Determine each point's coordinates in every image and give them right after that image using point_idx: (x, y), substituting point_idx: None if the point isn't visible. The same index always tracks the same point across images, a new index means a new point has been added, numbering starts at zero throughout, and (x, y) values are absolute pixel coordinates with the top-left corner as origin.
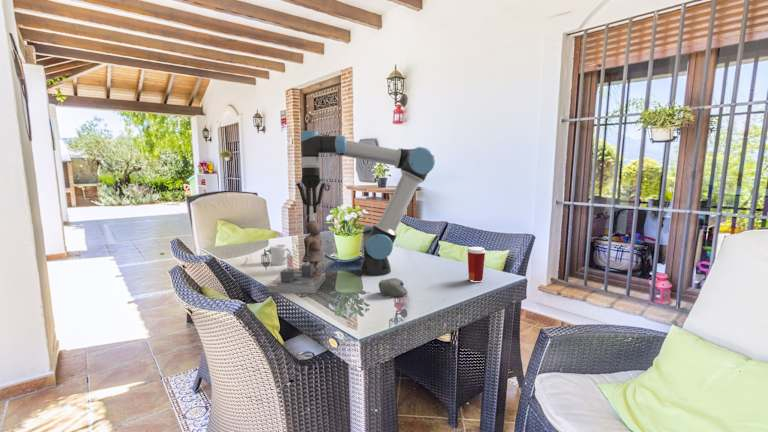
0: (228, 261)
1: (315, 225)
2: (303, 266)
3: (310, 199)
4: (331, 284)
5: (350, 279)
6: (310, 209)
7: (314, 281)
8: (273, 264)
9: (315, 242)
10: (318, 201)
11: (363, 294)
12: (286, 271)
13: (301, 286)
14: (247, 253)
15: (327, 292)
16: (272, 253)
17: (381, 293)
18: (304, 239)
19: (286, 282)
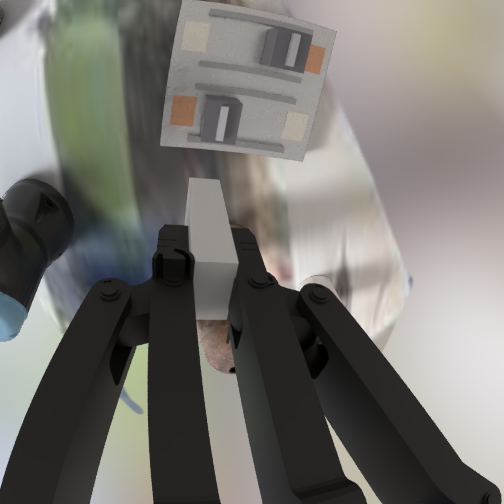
0: (407, 297)
1: (217, 345)
2: (235, 103)
3: (242, 371)
4: (136, 86)
5: (84, 139)
6: (222, 237)
7: (186, 43)
8: (327, 278)
9: None
10: (98, 311)
11: (43, 10)
12: (292, 33)
13: (228, 4)
14: None
15: (143, 11)
16: (339, 299)
17: (1, 8)
18: None
19: (282, 25)
